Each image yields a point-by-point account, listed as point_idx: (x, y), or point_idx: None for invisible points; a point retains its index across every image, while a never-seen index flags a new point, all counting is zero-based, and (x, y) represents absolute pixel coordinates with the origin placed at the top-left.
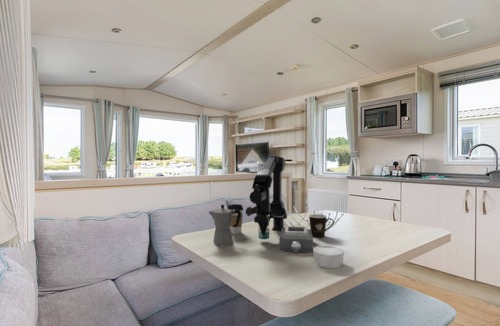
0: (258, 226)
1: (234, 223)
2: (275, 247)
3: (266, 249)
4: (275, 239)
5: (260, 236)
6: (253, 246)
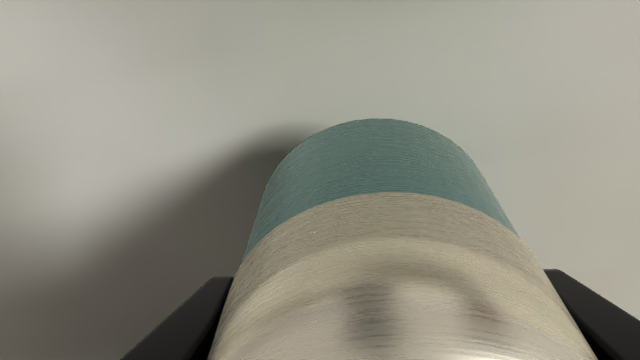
0: (327, 337)
1: None
2: None
3: (39, 261)
4: None
5: (265, 201)
6: (74, 39)
